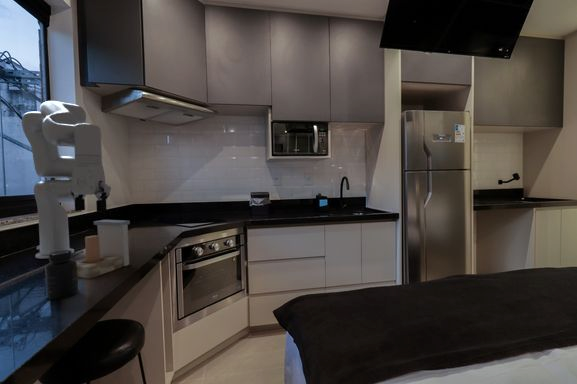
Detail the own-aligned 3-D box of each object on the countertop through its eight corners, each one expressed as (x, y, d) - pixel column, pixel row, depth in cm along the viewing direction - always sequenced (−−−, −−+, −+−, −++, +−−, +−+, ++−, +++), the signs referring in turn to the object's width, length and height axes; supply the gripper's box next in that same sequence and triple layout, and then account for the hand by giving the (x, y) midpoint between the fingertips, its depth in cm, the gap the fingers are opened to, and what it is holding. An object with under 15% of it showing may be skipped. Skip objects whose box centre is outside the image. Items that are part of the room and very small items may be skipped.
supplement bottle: (67, 289, 82) (64, 248, 81) (84, 291, 80) (82, 249, 79) (40, 298, 75) (37, 254, 75) (58, 301, 74) (56, 256, 73)
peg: (83, 272, 97) (82, 237, 96) (94, 268, 101) (93, 235, 100) (92, 273, 96) (91, 238, 95) (103, 269, 99) (101, 235, 99)
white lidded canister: (95, 264, 105) (93, 221, 104) (106, 261, 109) (104, 219, 109) (121, 267, 102) (119, 222, 101) (131, 263, 106) (129, 220, 105)
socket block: (63, 275, 94) (62, 264, 94) (96, 264, 106) (96, 255, 105) (90, 278, 91) (90, 267, 90) (122, 266, 102) (121, 257, 102)
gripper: (58, 160, 95) (60, 211, 96) (98, 160, 90) (100, 213, 91) (80, 161, 102) (82, 208, 103) (118, 161, 97) (119, 210, 98)
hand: (90, 211), depth 97 cm, fingers open, 9 cm apart
